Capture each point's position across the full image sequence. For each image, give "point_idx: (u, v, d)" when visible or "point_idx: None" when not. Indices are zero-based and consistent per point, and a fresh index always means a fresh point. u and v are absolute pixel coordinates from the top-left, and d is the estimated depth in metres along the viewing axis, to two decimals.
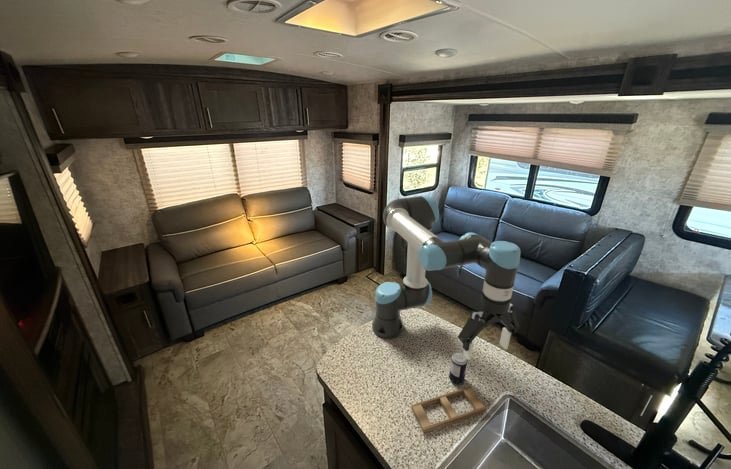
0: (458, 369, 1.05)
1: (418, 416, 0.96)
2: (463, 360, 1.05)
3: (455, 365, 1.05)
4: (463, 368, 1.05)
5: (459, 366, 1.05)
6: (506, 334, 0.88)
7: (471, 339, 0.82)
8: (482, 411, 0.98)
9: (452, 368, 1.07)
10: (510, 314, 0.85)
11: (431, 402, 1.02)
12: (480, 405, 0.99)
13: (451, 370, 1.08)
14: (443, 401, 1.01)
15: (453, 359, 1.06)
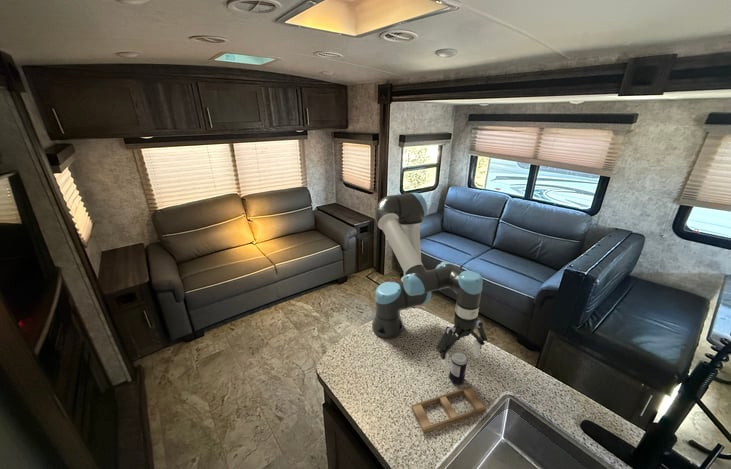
0: (458, 369, 1.05)
1: (418, 416, 0.96)
2: (463, 360, 1.05)
3: (455, 365, 1.05)
4: (463, 368, 1.05)
5: (459, 366, 1.05)
6: (477, 345, 1.06)
7: (446, 350, 1.01)
8: (482, 411, 0.98)
9: (452, 368, 1.07)
10: (479, 329, 1.03)
11: (431, 402, 1.02)
12: (480, 405, 0.99)
13: (451, 370, 1.08)
14: (443, 401, 1.01)
15: (453, 359, 1.06)
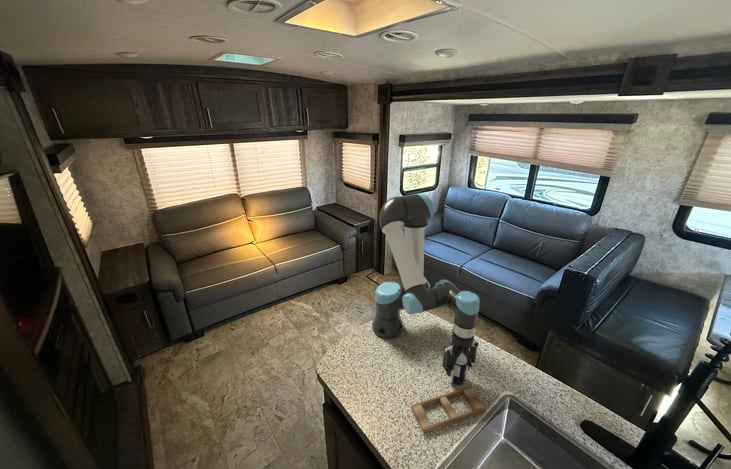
0: (458, 369, 1.05)
1: (418, 416, 0.96)
2: (463, 360, 1.05)
3: (455, 365, 1.05)
4: (463, 368, 1.05)
5: (459, 366, 1.05)
6: None
7: (451, 367, 1.06)
8: (482, 411, 0.98)
9: None
10: (472, 349, 1.06)
11: (431, 402, 1.02)
12: (480, 405, 0.99)
13: None
14: (443, 401, 1.01)
15: None
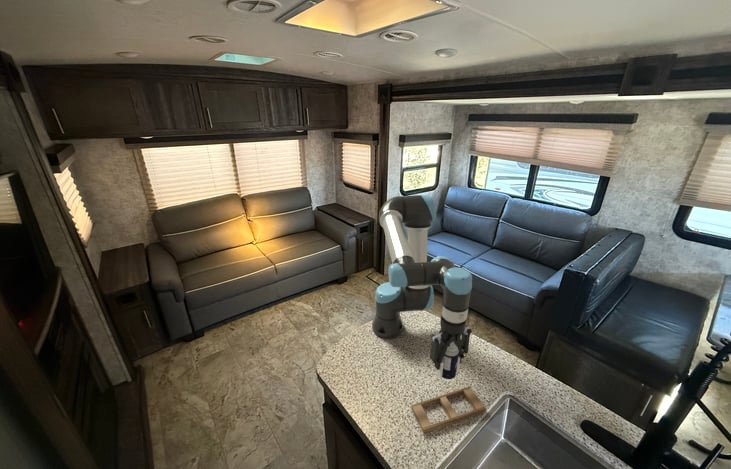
0: (448, 361, 0.90)
1: (418, 416, 0.96)
2: (454, 350, 0.90)
3: (445, 356, 0.90)
4: (454, 360, 0.90)
5: (450, 357, 0.89)
6: None
7: (440, 359, 0.90)
8: (482, 411, 0.98)
9: None
10: (464, 337, 0.91)
11: (431, 402, 1.02)
12: (480, 405, 0.99)
13: None
14: (443, 401, 1.01)
15: None
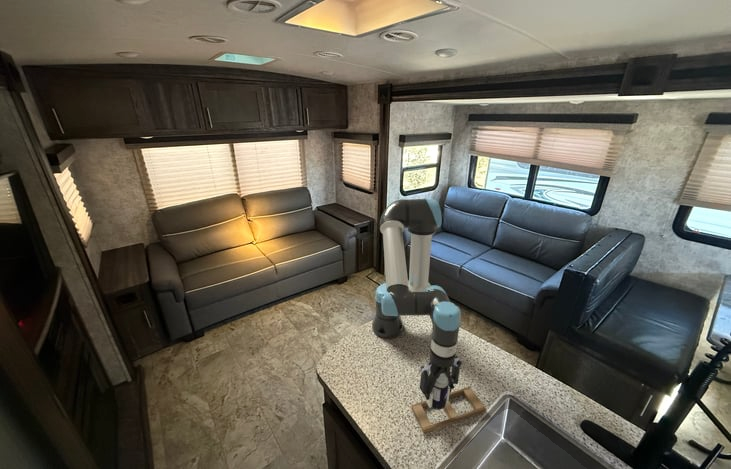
0: (438, 393, 0.90)
1: (418, 416, 0.96)
2: (444, 382, 0.90)
3: (434, 388, 0.90)
4: (444, 391, 0.90)
5: (439, 389, 0.90)
6: None
7: (430, 390, 0.91)
8: (482, 411, 0.98)
9: None
10: (454, 368, 0.91)
11: None
12: (480, 405, 0.99)
13: None
14: None
15: None
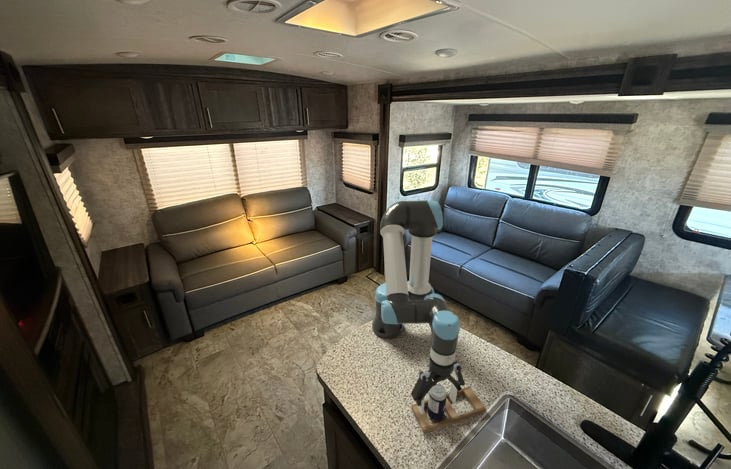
0: (436, 405, 0.93)
1: (418, 416, 0.96)
2: (442, 395, 0.92)
3: (433, 400, 0.93)
4: (442, 404, 0.93)
5: (437, 402, 0.92)
6: (453, 390, 0.95)
7: (422, 397, 0.91)
8: (482, 411, 0.98)
9: (430, 403, 0.95)
10: (456, 373, 0.92)
11: None
12: (480, 405, 0.99)
13: (429, 405, 0.95)
14: None
15: (431, 393, 0.94)
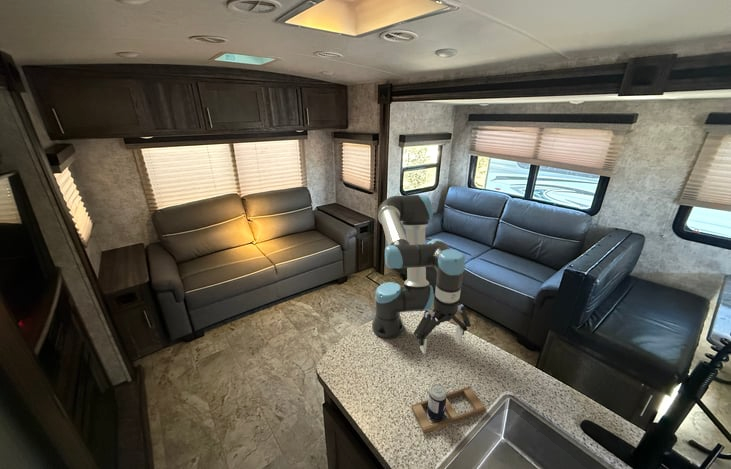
0: (436, 405, 0.93)
1: (418, 416, 0.96)
2: (442, 395, 0.92)
3: (433, 400, 0.93)
4: (442, 404, 0.93)
5: (437, 402, 0.92)
6: (459, 331, 0.97)
7: (425, 335, 0.92)
8: (482, 411, 0.98)
9: (430, 403, 0.95)
10: (461, 314, 0.94)
11: None
12: (480, 405, 0.99)
13: (429, 405, 0.95)
14: None
15: (431, 393, 0.94)
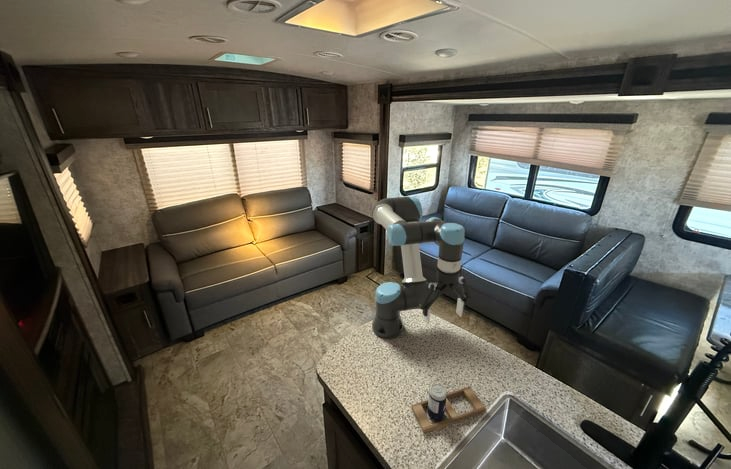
0: (436, 405, 0.93)
1: (418, 416, 0.96)
2: (442, 395, 0.92)
3: (433, 400, 0.93)
4: (442, 404, 0.93)
5: (437, 402, 0.92)
6: (460, 303, 1.04)
7: (428, 306, 0.99)
8: (482, 411, 0.98)
9: (430, 403, 0.95)
10: (462, 285, 1.01)
11: None
12: (480, 405, 0.99)
13: (429, 405, 0.95)
14: None
15: (431, 393, 0.94)
